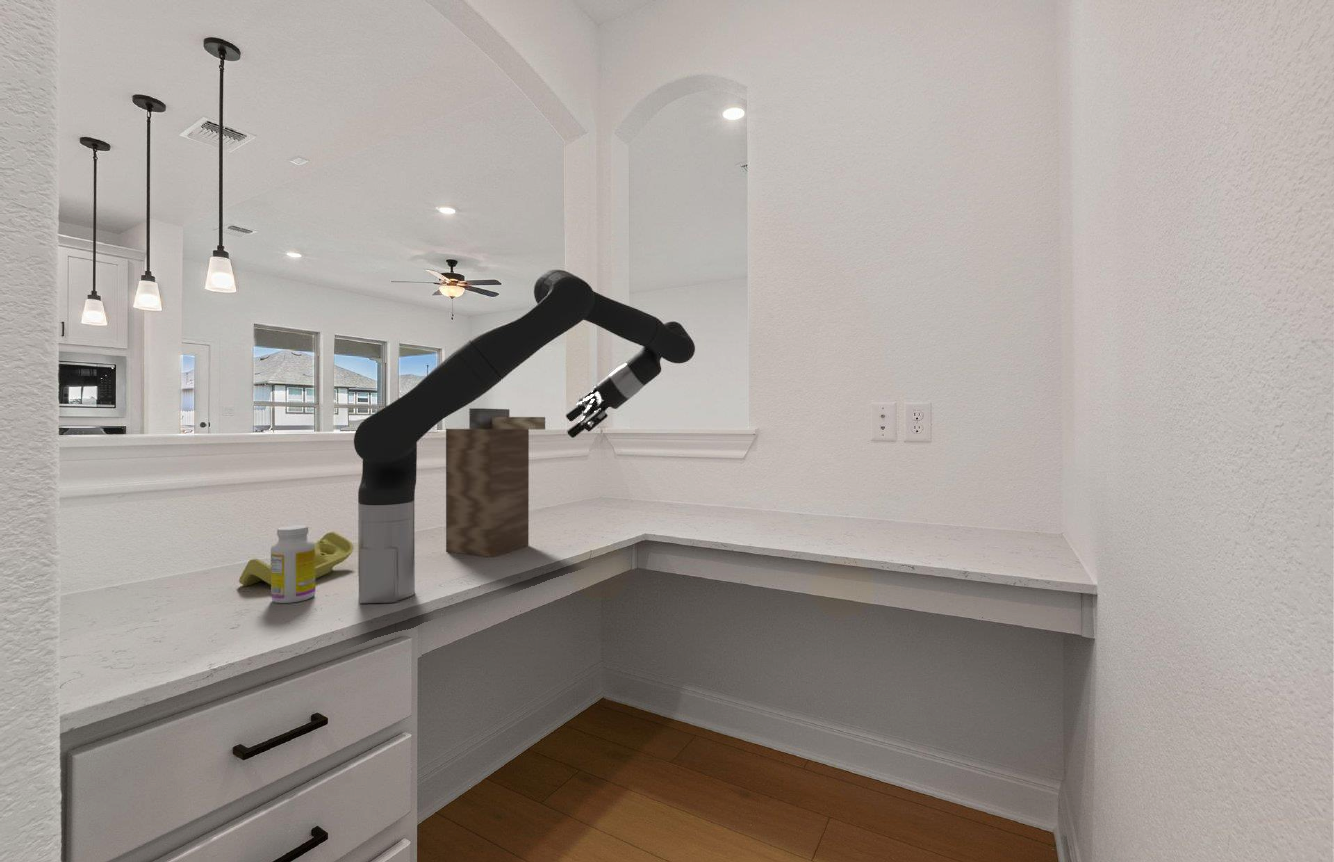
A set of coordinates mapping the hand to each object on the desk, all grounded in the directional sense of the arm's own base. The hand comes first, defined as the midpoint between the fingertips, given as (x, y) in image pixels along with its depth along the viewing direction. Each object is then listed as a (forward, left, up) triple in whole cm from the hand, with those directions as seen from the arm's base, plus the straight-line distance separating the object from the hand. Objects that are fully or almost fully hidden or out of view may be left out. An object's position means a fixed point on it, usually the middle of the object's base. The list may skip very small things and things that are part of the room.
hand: (568, 426), depth 139 cm
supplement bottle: (-31, +47, -31) cm, 64 cm away
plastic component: (-16, +53, -31) cm, 63 cm away
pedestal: (+7, +20, -31) cm, 38 cm away
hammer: (+4, +14, -1) cm, 15 cm away
